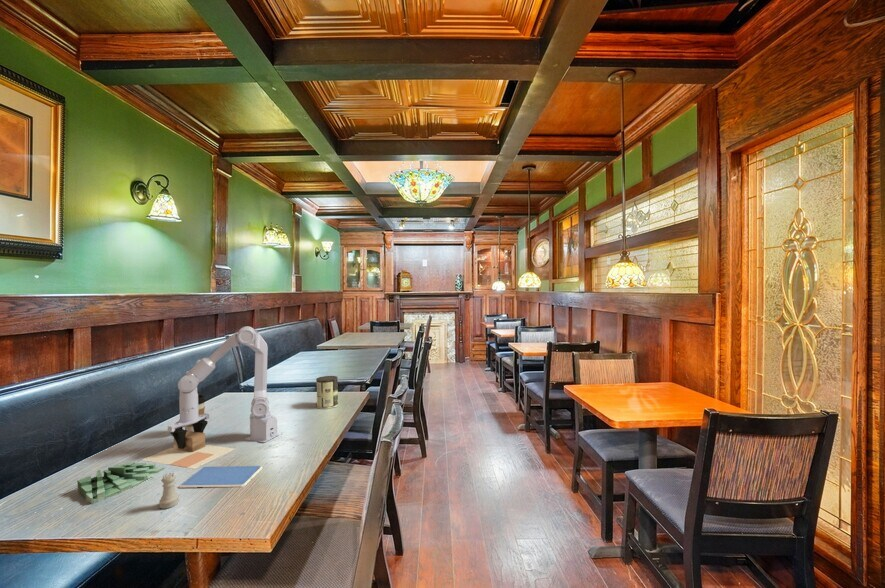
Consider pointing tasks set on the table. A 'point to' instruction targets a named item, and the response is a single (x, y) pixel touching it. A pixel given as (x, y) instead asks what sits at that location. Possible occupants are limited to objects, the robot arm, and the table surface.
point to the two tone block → (192, 441)
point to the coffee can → (327, 392)
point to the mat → (188, 456)
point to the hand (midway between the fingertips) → (189, 444)
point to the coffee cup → (200, 410)
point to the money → (115, 480)
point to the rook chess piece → (168, 492)
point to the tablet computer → (222, 476)
